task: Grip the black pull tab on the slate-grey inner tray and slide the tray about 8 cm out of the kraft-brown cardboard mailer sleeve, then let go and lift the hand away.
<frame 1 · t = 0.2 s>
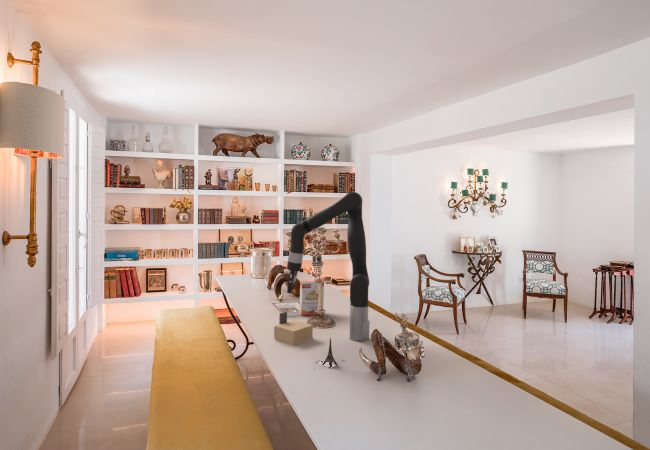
hand: (290, 291, 224), 23 cm above the table, tool pointing down, fingers open, 8 cm apart
mailer sleeve: (293, 339, 216), on the table
eiffel tower figurine: (330, 366, 183), on the table
tray: (291, 325, 216), point 7 cm above the table, slide at 0.0 cm
cracker box: (311, 314, 263), on the table
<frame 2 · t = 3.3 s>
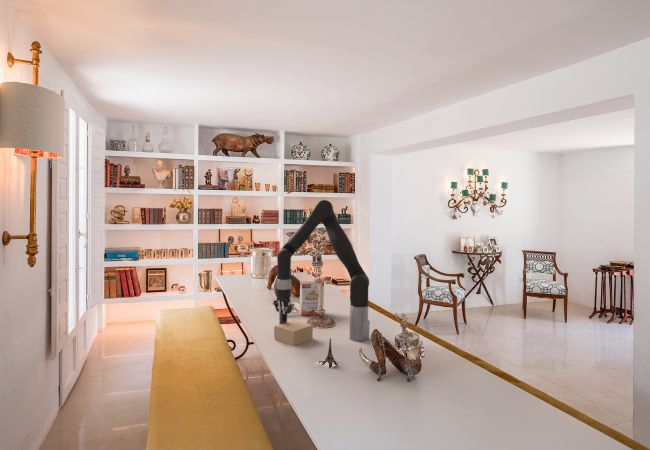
hand: (283, 320, 220), 8 cm above the table, tool pointing down, fingers closed
tray: (291, 325, 216), point 7 cm above the table, slide at 0.0 cm, touching gripper
everything else where it was.
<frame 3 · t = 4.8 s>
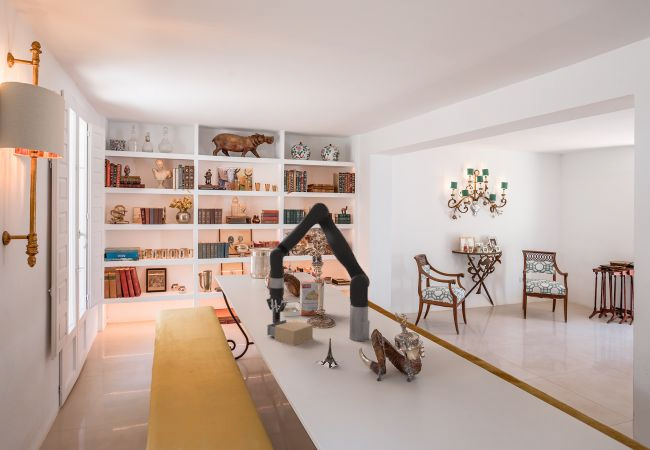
hand: (276, 318, 223), 8 cm above the table, tool pointing down, fingers closed
tray: (284, 323, 219), point 7 cm above the table, slide at 5.1 cm, touching gripper
everything else where it was.
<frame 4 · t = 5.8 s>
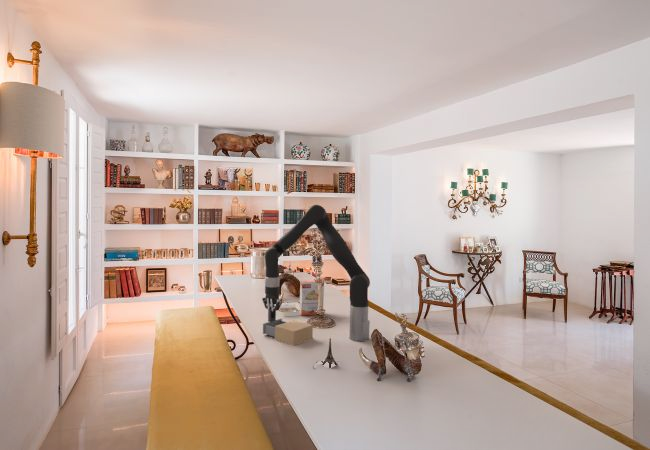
hand: (271, 317, 225), 8 cm above the table, tool pointing down, fingers closed
tray: (280, 322, 221), point 7 cm above the table, slide at 8.4 cm, touching gripper
everything else where it was.
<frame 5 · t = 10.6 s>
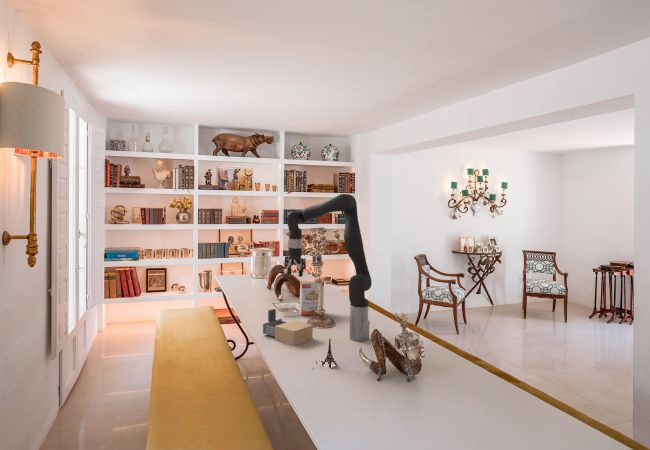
hand: (294, 275, 238), 28 cm above the table, tool pointing down, fingers open, 8 cm apart
tray: (280, 322, 221), point 7 cm above the table, slide at 8.4 cm
everything else where it was.
at the end: tray slide at 8.4 cm; the gripper is holding nothing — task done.
